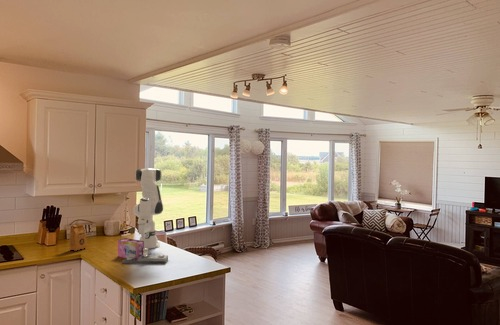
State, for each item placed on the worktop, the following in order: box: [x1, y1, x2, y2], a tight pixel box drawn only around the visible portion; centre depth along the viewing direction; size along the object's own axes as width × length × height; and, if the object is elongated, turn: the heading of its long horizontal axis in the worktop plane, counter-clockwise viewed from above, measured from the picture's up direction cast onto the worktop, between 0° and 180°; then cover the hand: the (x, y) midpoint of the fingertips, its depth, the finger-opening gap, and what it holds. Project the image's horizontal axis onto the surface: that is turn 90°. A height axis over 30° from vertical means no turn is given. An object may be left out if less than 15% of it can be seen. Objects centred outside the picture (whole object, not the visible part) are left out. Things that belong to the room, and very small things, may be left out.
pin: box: [143, 248, 149, 258], centre depth 277 cm, size 4×4×10 cm
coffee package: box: [69, 223, 87, 252], centre depth 316 cm, size 10×12×22 cm
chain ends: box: [121, 254, 169, 265], centre depth 276 cm, size 9×32×5 cm, turn 89°
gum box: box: [117, 237, 144, 259], centre depth 290 cm, size 24×8×14 cm, turn 57°
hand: (145, 237), depth 277 cm, fingers open, 8 cm apart
